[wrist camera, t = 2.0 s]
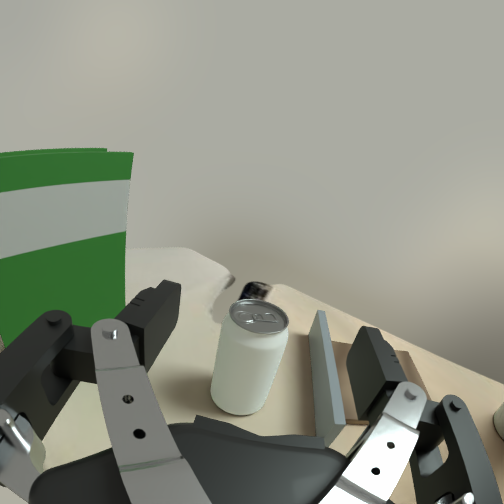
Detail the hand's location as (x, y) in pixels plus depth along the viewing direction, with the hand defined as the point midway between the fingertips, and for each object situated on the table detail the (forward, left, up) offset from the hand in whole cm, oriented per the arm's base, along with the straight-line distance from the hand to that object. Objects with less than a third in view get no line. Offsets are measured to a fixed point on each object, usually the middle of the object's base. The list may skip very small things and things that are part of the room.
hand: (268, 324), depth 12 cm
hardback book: (+24, -11, -19) cm, 33 cm away
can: (0, -12, -19) cm, 23 cm away
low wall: (-10, -17, -19) cm, 28 cm away
